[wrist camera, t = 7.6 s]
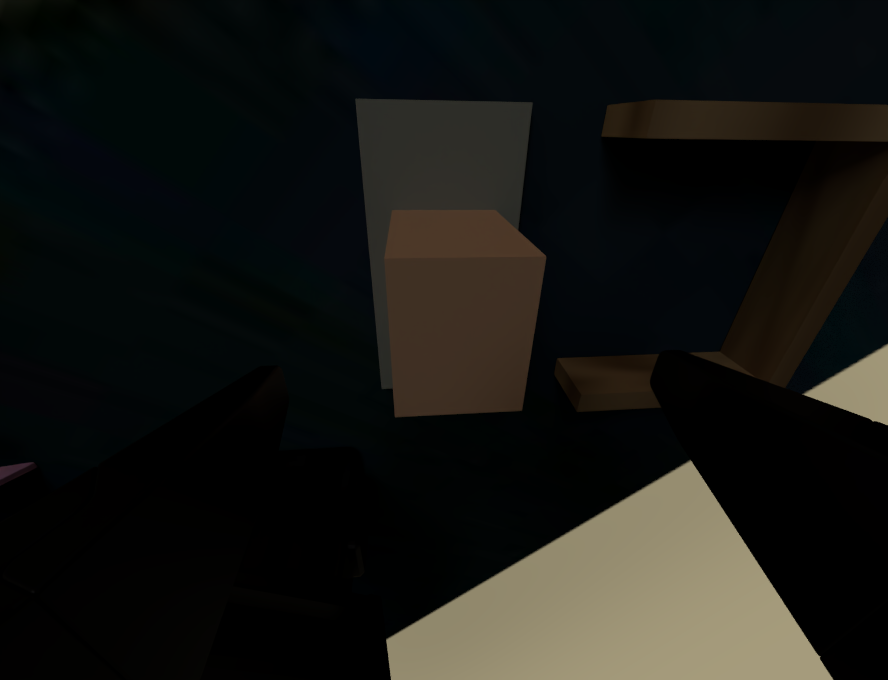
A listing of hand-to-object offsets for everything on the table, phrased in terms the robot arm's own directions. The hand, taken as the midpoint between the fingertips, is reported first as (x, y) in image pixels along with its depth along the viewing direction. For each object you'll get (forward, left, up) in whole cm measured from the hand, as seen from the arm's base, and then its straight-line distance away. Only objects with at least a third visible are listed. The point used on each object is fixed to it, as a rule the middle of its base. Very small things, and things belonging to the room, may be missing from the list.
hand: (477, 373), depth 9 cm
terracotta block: (0, 0, -8) cm, 8 cm away
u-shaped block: (+11, 0, -8) cm, 14 cm away
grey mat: (0, 0, -8) cm, 8 cm away
